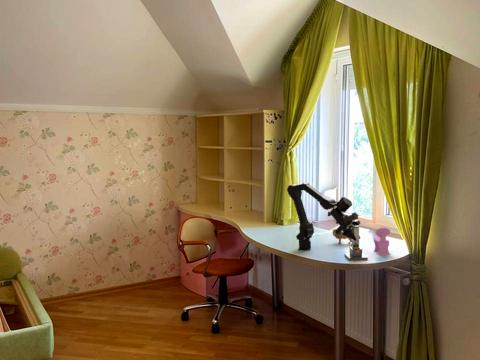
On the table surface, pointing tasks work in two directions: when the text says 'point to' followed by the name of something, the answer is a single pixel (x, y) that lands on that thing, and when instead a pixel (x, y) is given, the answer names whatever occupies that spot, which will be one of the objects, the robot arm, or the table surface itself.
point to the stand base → (355, 255)
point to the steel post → (356, 233)
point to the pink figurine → (382, 241)
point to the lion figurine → (341, 236)
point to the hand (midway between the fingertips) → (357, 239)
